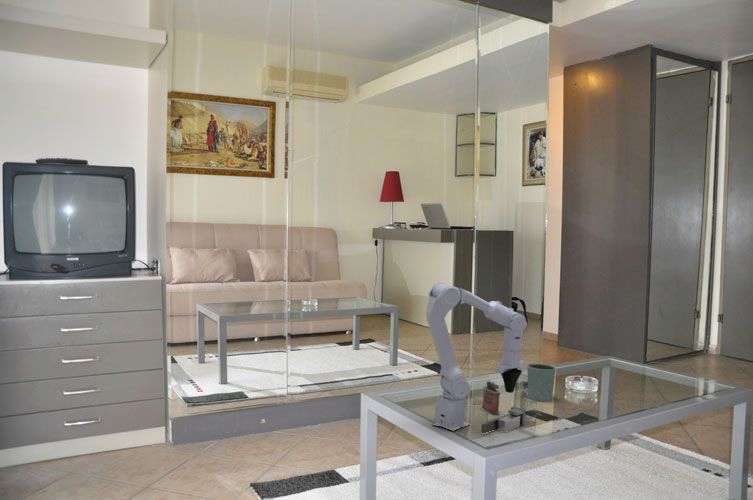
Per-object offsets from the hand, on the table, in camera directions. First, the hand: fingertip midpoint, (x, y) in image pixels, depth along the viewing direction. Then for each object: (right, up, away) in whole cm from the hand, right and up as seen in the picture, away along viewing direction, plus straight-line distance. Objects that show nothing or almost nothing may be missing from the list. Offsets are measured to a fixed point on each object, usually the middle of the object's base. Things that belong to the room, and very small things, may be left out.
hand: (509, 392), depth 193 cm
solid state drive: (+12, -11, +10) cm, 19 cm away
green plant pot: (+18, -10, +31) cm, 37 cm away
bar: (-1, -10, -5) cm, 11 cm away
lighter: (-4, -9, +12) cm, 15 cm away
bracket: (-3, -10, -6) cm, 12 cm away
